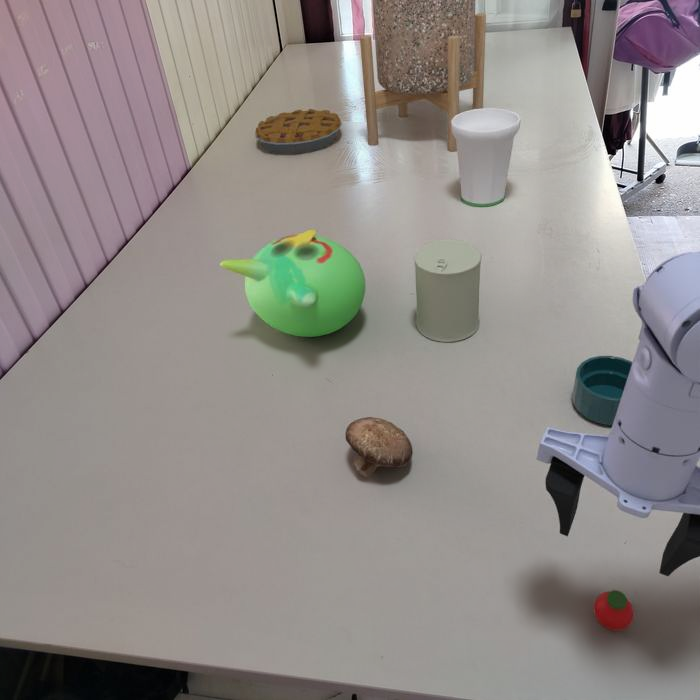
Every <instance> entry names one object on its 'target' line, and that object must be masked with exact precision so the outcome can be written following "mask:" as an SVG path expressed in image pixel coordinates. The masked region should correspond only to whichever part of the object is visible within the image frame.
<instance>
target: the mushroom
mask: <svg viewBox="0 0 700 700" xmlns="http://www.w3.org/2000/svg"><path fill="white" fill-rule="evenodd" d="M345 441H346V443H347V444H348V445H349V446H350V447H351V449H352V450H353V451H354V452H355V453H356V455H355V457H354V459H353V465H354V467H355V470H356V471H357V472H358V473H359V475H361V476H362V477H364V478H371V477H372V475H373V474H374V473H375V471H376V470H377V468H378V467H388V468H400V467H405V466H406V465H408V464H409V462H410V461H411V459H412V458H413V453H414V452H413V446H412V445H413V444H412V443H411V440H410V439H409V437H408V436H407V434H406V433H405V432H404V430H402V428H400V427H398V426H397V425H395V424H394V423H393V422H390V421H388V420H386V419H383V418H380V417H373V416H366V417H361V418H359V419H356V420H353V421H352V422H350V424H348V426H347V427H346V430H345Z"/></svg>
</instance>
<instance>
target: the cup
mask: <svg viewBox="0 0 700 700" xmlns="http://www.w3.org/2000/svg"><path fill="white" fill-rule="evenodd" d="M521 121H522V119H521V117H520V115H519V113H517V112H515V111H512V110H509V109H504V108H494V107H491V108H490V107H483V109H473V108H472V109H470V110H465V111H461V112H459V114H458V115H456V116H455V117H454V118H453V119H452V120H451V130H452V134H453V135H454V137H455V138H456V144H457V151H456V153H457V162H458V163H457V164H458V170H459V171H458V173H459V185H460V198H461V201H462V202H463V203H464V204H466V205H468V206H472V207H480V208H482V207H483V208H484V207H485V208H486V207H492V206H496V205H499V204H500V203H502V202H503V201H504V199H505V198H506V187H507V180H508V175H509V169H510V164H511V163H510V162H511V157H512V151H513V147H514V146H513V145H514V141H515V137H516V136H517V134H518V132H519V131H520V129H521Z"/></svg>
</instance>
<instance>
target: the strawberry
mask: <svg viewBox="0 0 700 700" xmlns="http://www.w3.org/2000/svg"><path fill="white" fill-rule="evenodd" d="M593 610H594V611H593V612H594V615H595V618H596V620H597V621H598V622H599V623H600V624H601V625H602V626H603V627H604V628H606V629H608V630H610V631H623V630H625V629H626V628H628V627H629V626H630V625H631V624H632V622H633V619H634V608H633V606H632V603H631V601H630V599H628V598H627V596H626V595H625V594H624V593H623V592H622V591H620V590H617V589H614V590H610V591H604V592H602V593H601V594H599V595H598V596H597V598H596V600H595V602H594V605H593Z"/></svg>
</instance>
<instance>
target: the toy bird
mask: <svg viewBox="0 0 700 700" xmlns="http://www.w3.org/2000/svg"><path fill="white" fill-rule="evenodd" d="M219 264H220V267H222V268H223V269H225V270H227V271H230V272H232V273H235V274H238V275H240V276H243V277H244V290H245V297H246V299H247V301H248V304H249V306H250V308H251V309H252V310H253V312H254V313H255V314H256V315H257V316H258V318H259V319H260V320H262V321H263V322H264V323H266V324H267V325H268V326H271V327H272V328H273V329H275V330H277V331H279V332H281V333H284V334H287V335H290V336H294V337H295V336H296V337H304V338H313V337H321V336H325V335H330V334H333V333H334V332H336V331H338V330H340V329H342V328H343V327H345V326H346V325H347V324H349V323H350V322H351V321H353V319H354V318H355V317H356V315H357V314H358V312H359V310H360V309H361V306H362V305H363V303H364V302H363V301H364V298H365V294H366V277H365V273H364V270H363V268H362V267H361V264H360V262H359V261H358V259H357V258H356V257H355V256H354V254H353V253H351V252H350V251H349V250H348V249H347V248H346V247H344V246H343V245H342V244H340V243H339V242H336V241H334V240H332V239H330V238H328V237H324V236H322V235H317V229H315V228H313V229H309V230H306V231H304V232H303V231H302V232H301V233H298V234H290V235H285V236H281V237H279V238H277V239H274V240H272V241H270V242H269V243H267V244H265V245H264V246H263V247H262V248H260V249H259V250H258V252H257V253H255V255H254V256H253V258H245V259H244V258H237V259H236V258H235V259H225V260H222V261H220V263H219Z"/></svg>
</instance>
